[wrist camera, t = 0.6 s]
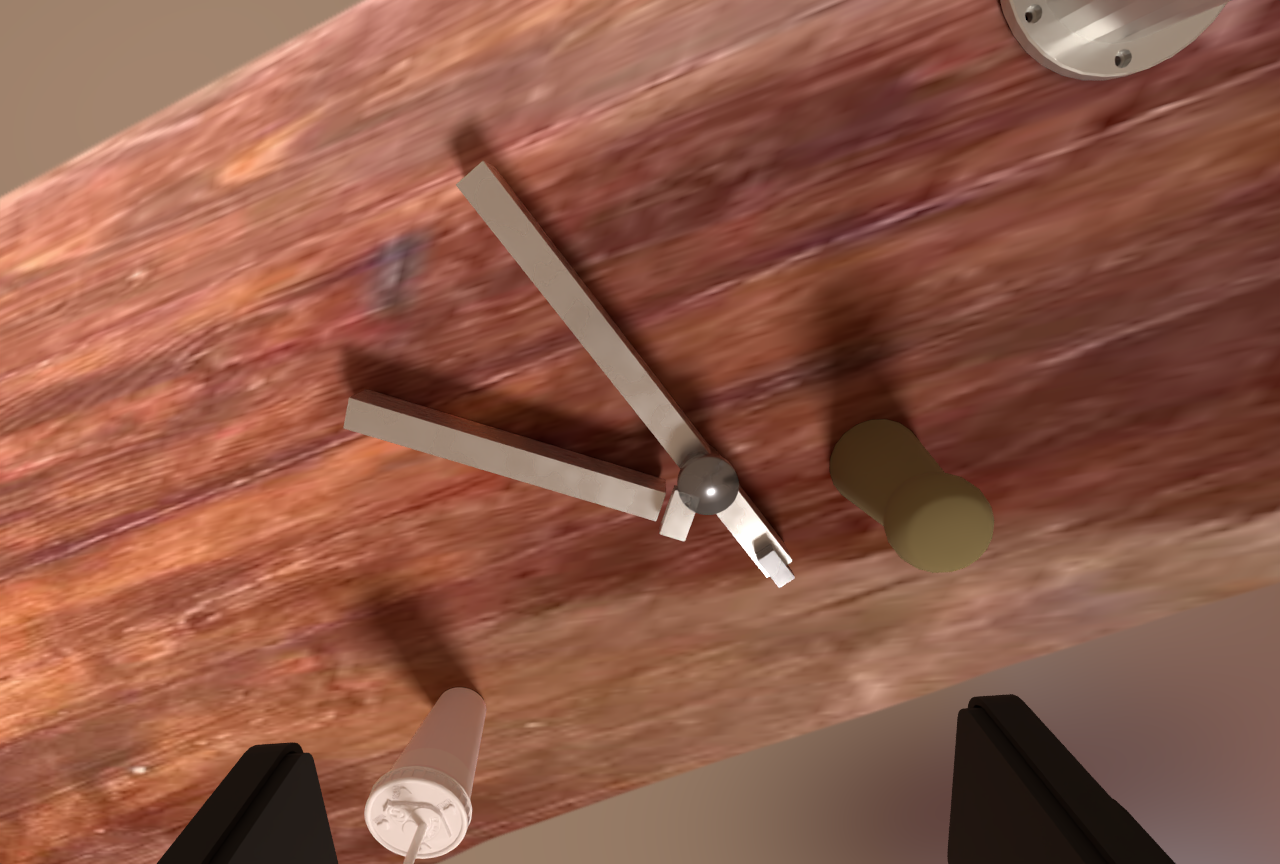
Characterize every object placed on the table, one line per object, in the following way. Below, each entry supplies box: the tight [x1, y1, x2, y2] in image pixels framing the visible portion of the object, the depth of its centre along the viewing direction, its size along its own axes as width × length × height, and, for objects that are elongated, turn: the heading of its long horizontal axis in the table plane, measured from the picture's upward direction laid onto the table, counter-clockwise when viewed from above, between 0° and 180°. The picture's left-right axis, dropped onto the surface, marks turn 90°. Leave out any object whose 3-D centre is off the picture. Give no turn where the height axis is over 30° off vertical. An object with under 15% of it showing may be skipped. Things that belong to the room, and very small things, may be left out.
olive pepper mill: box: [830, 419, 994, 573], centre depth 36 cm, size 6×6×11 cm
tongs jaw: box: [344, 389, 739, 541], centre depth 38 cm, size 6×24×4 cm, turn 72°
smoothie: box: [365, 687, 486, 864], centre depth 41 cm, size 6×6×14 cm
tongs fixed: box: [456, 161, 795, 588], centre depth 38 cm, size 2×31×4 cm, turn 37°
